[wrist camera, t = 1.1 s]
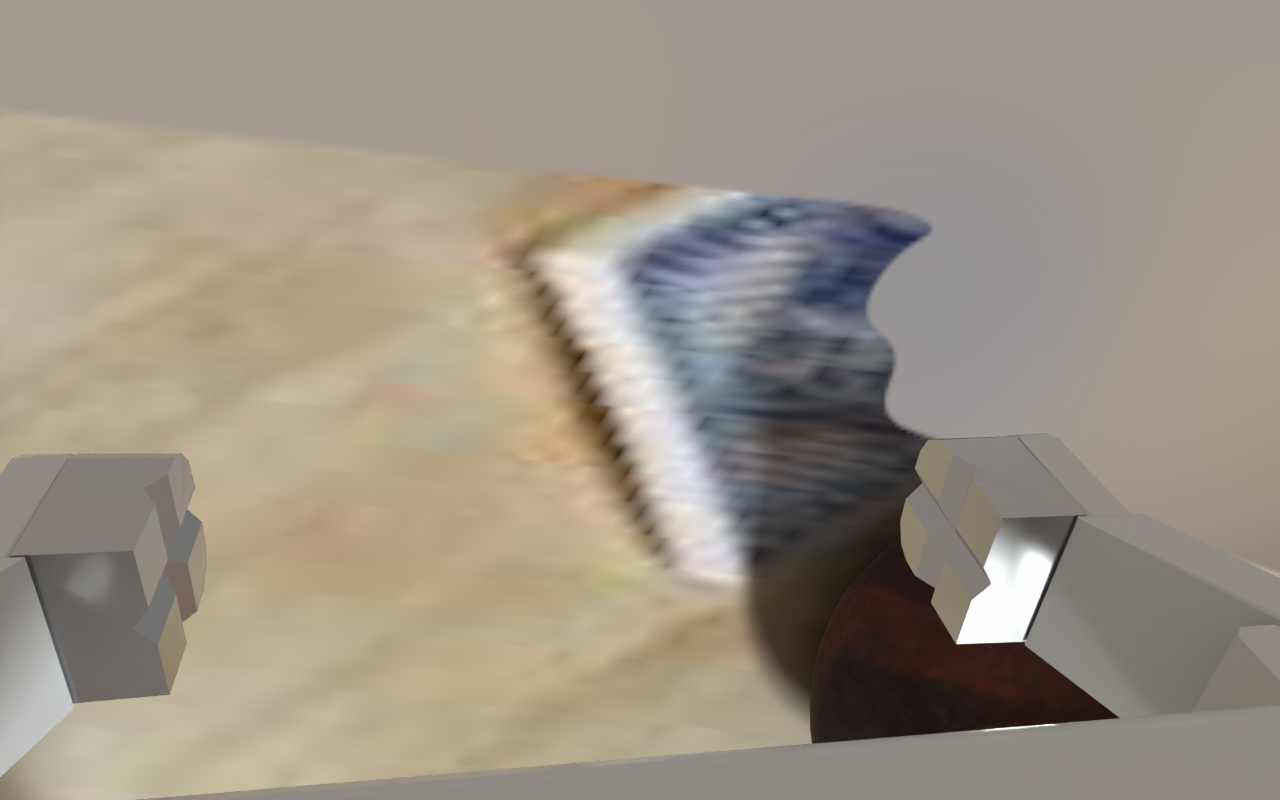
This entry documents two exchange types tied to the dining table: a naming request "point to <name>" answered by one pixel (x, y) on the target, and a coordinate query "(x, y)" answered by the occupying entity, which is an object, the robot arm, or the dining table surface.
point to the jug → (925, 669)
